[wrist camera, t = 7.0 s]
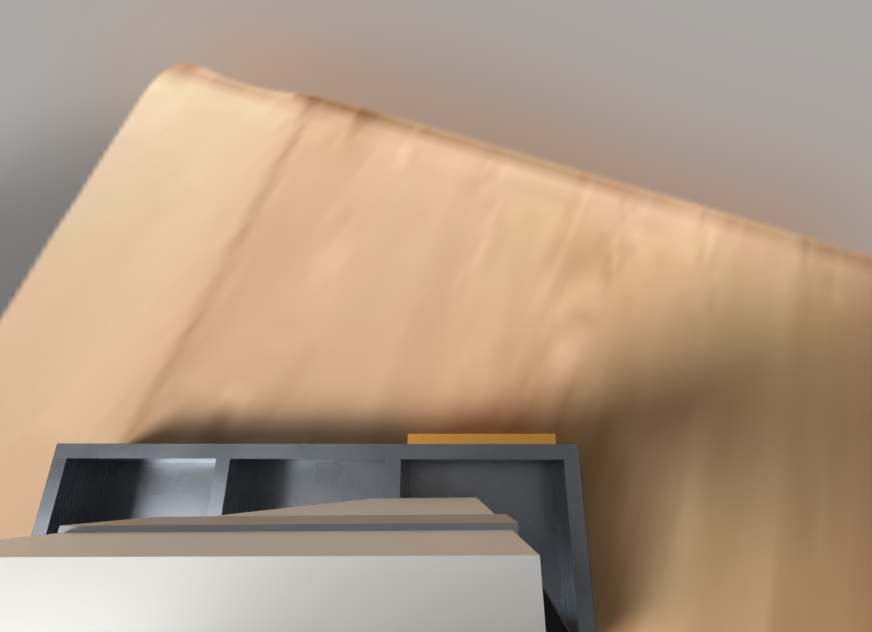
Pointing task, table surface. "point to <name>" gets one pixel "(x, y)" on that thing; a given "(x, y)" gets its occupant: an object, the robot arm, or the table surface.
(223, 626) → the white capped pillar
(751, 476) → the table surface
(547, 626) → the robot arm
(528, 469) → the rack
